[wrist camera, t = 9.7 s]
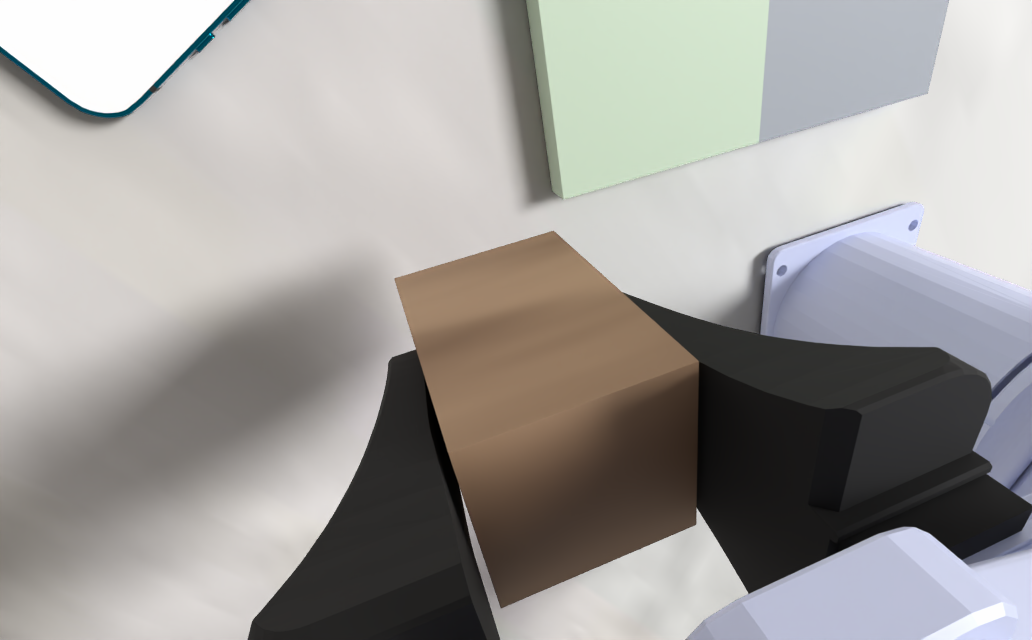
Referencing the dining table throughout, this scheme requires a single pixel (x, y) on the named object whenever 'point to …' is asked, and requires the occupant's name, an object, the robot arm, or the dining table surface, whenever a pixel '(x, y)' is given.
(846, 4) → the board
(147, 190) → the dining table surface
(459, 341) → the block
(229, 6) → the smartphone
